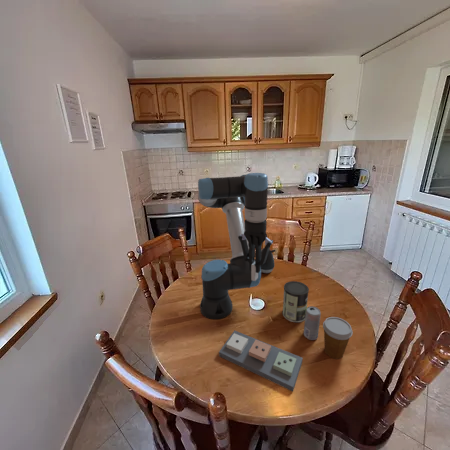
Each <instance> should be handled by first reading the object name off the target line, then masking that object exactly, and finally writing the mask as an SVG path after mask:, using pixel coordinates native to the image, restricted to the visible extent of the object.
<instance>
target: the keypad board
mask: <svg viewBox="0 0 450 450" xmlns="http://www.w3.org/2000/svg"><path fill="white" fill-rule="evenodd" d="M234 333H235V334H237V335H240V336H242V337H245V338H247V339H248V343H247V345H246V347H245V348H244V350H243V352H242V353H241V354H240V353H238V352H236V351H233V350H231V349H229V348H227V346H226V344H227V343H228V341H229V340H230V338H231V337H232V335H233V334H234ZM255 340H258V341H260V342H263V343H265V344H268V345H270V346H271V351H270V353H269V355H268V357H267V359H266V361H265V362H263V361H261V360H259V359H257V358H254V357H252V356H250V355H249V350H250V348H251V347H252V345H253V343H254V342H255ZM279 352H281V353H284V354H286V355H289V356H291V357H293V358H296V364H295V367H294V370H293V373H292V376H289V375H287V374H284V373H282V372H280V371H278V370H276V369H273V365H274V363H275V360H276V358H277V356H278V353H279ZM218 356H219V357H220V358H222V359H224V360H226V361H228V362H230V363H232V364H233V365H237V366H239V367H241V368H243V369H244V370H247V371H248V372H250V373H253V374H255V375H258V376H260V377H261V378H264V379H265V380H268V381H269V382H272V383H274V384H276V385H278V386H280V387H283V388H284V389H285V390H289V391H290V392H294V390H295V386H296V383H297V380H298V378H299V377H298V376H299V374H300V371H301V368H302V364H303V357H302V356H299V355H298V354H294V353H291V352H290V351H287V350H284V349H282V348H279V347H276V346H275V345H271V344H269V343H268V342H264V341H262V340H259V339H257V338H254V337H252V336H249V335H247V334H244V333H242V332H241V331H240V332H239V331H237V330H233V332H232V333H231V334H230V335H229V337H228V339H227V340H226V341H225V343H224V344H223V345H222V347H221V348H220V349H219V351H218Z"/></svg>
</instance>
